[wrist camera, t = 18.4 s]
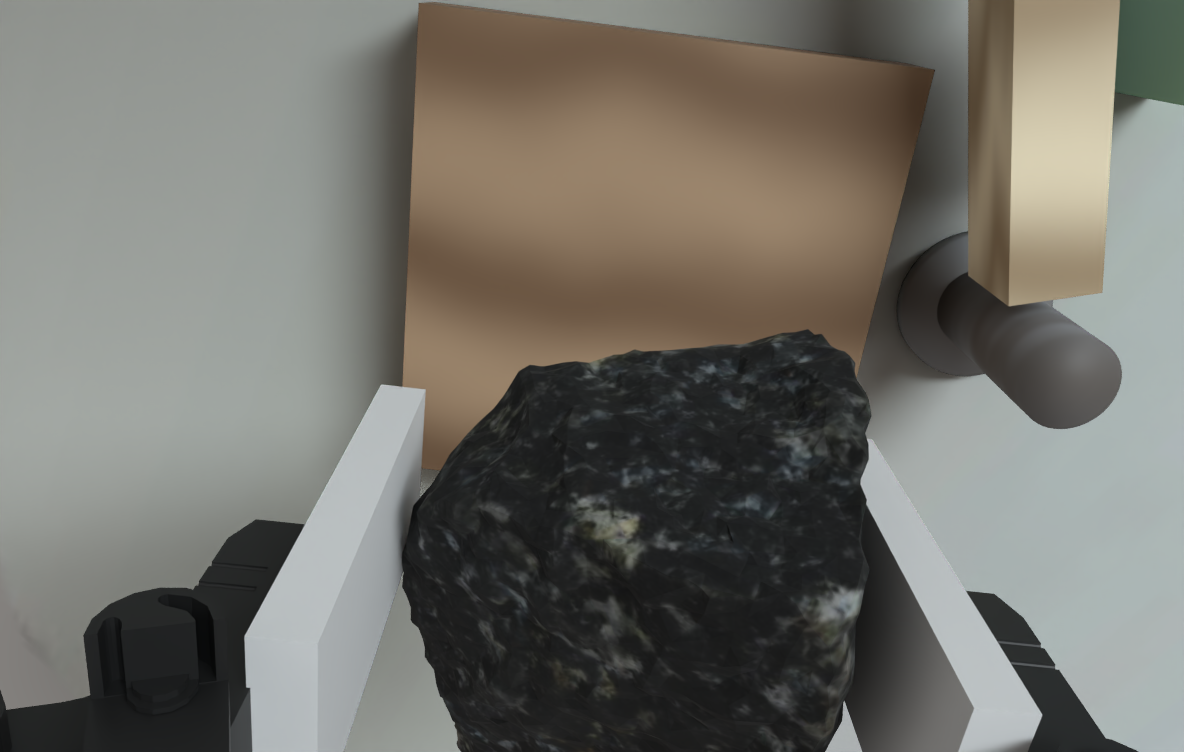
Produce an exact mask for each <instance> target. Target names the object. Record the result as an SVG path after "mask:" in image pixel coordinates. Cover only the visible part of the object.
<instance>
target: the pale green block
mask: <svg viewBox="0 0 1184 752" xmlns="http://www.w3.org/2000/svg"><path fill="white" fill-rule="evenodd" d="M1115 92H1117V93H1122V94H1127V95H1132V96H1137V97H1143V98H1148V99H1153V100H1158V101H1163V102H1168V103H1173V104H1179V105H1184V0H1120V10H1119V26H1118V42H1117V59H1116V75H1115Z"/></svg>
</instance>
